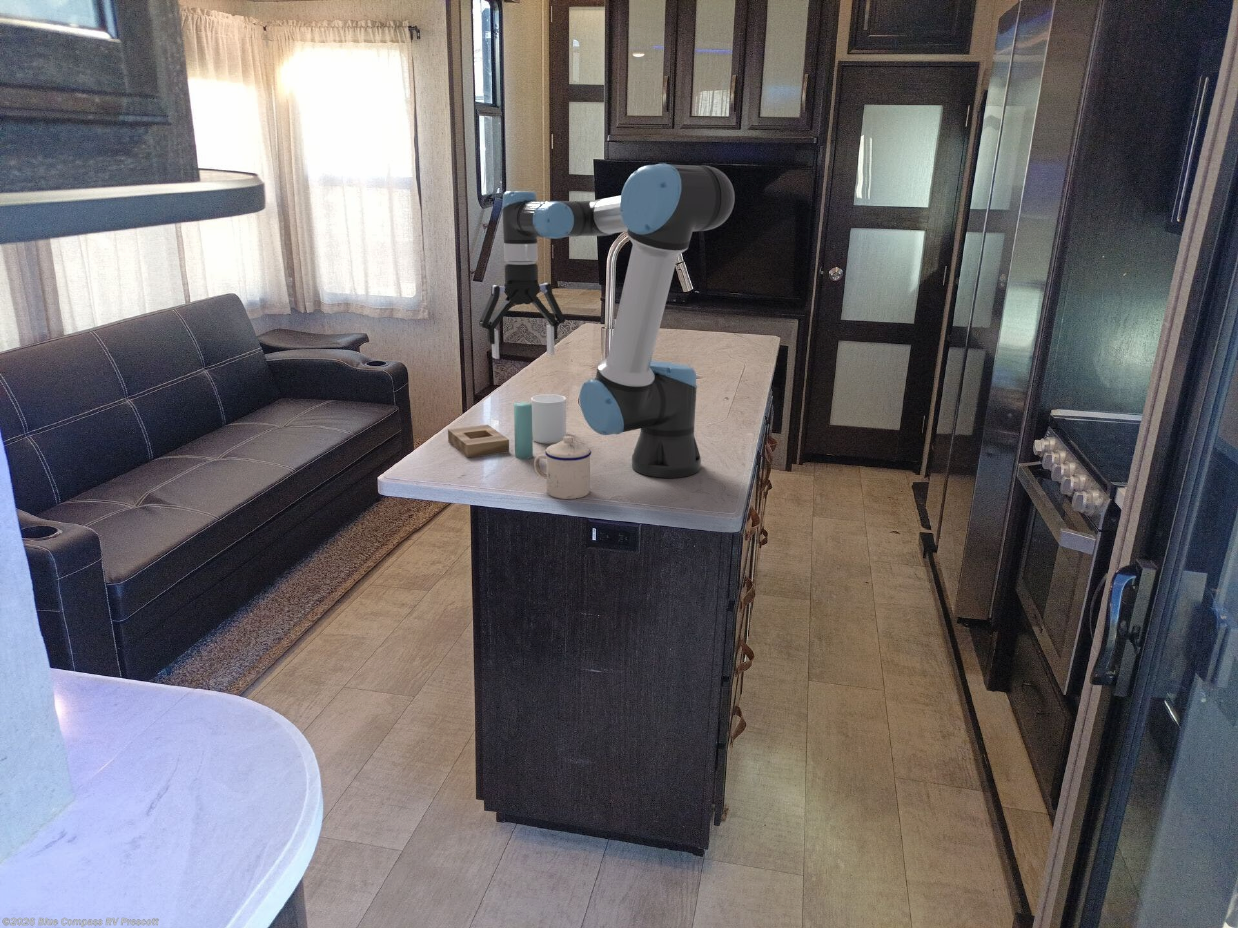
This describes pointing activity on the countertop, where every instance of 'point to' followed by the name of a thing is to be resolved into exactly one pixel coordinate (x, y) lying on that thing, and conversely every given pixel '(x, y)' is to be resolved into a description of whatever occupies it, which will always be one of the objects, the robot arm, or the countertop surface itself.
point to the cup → (548, 418)
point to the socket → (478, 441)
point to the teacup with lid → (566, 469)
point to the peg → (523, 430)
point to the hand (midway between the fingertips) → (523, 355)
